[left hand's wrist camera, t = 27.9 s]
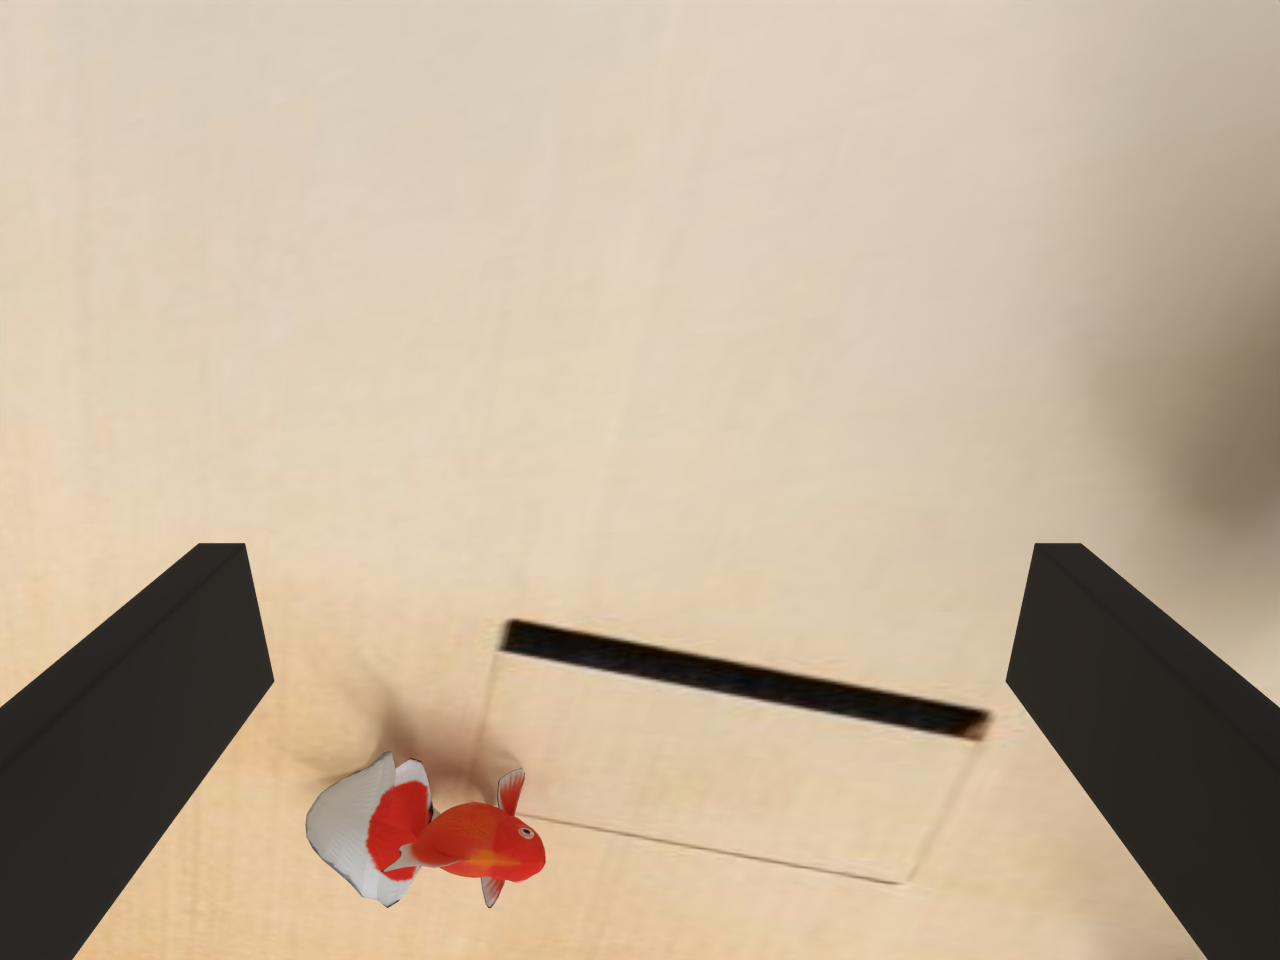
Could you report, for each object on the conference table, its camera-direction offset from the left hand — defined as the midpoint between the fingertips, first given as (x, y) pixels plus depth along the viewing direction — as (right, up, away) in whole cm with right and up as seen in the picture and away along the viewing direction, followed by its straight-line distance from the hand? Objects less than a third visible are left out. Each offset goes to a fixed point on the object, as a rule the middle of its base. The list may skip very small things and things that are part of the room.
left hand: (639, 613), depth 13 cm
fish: (-14, -19, +39) cm, 45 cm away
